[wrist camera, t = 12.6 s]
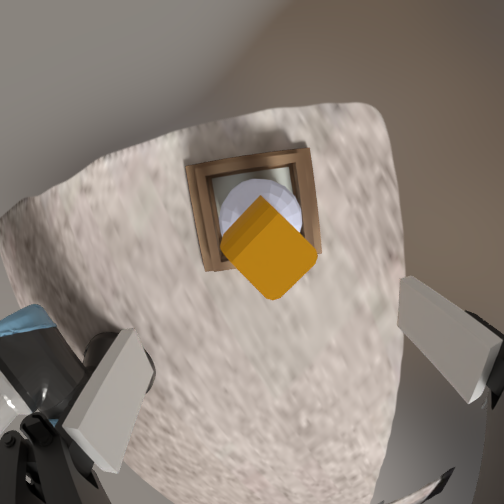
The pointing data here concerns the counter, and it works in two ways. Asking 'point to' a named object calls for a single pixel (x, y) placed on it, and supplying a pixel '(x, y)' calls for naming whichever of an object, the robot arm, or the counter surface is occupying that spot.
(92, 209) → the counter surface
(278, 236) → the orange capped white bottle
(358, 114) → the counter surface
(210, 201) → the picture frame
